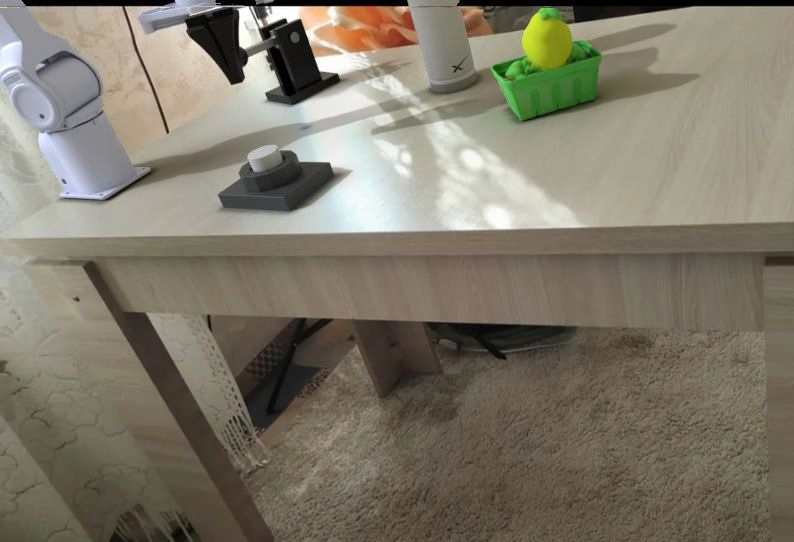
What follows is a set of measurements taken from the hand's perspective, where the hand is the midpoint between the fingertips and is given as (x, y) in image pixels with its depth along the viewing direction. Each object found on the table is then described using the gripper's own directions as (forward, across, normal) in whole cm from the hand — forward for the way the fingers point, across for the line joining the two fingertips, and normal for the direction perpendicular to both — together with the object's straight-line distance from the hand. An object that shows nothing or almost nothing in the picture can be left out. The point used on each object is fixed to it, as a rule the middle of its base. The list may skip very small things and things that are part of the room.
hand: (238, 81), depth 88 cm
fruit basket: (+10, +34, -6) cm, 36 cm away
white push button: (+7, +2, -11) cm, 13 cm away
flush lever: (+3, -1, +23) cm, 24 cm away
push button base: (+10, +2, -11) cm, 15 cm away
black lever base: (+10, +2, +26) cm, 28 cm away
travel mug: (+10, +24, +11) cm, 28 cm away
